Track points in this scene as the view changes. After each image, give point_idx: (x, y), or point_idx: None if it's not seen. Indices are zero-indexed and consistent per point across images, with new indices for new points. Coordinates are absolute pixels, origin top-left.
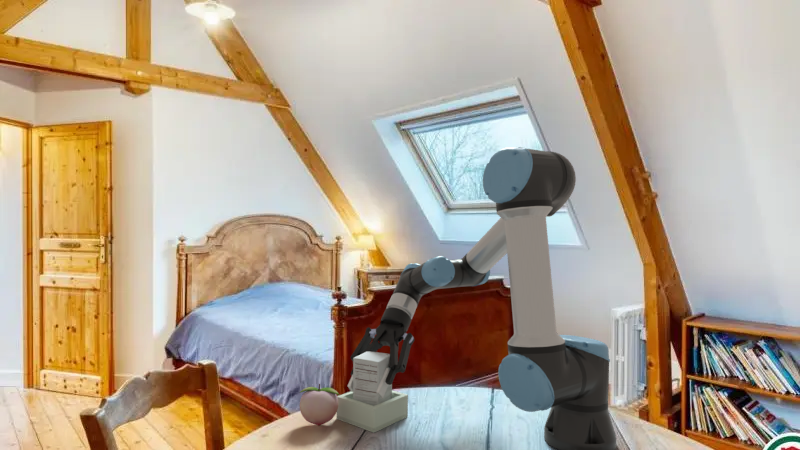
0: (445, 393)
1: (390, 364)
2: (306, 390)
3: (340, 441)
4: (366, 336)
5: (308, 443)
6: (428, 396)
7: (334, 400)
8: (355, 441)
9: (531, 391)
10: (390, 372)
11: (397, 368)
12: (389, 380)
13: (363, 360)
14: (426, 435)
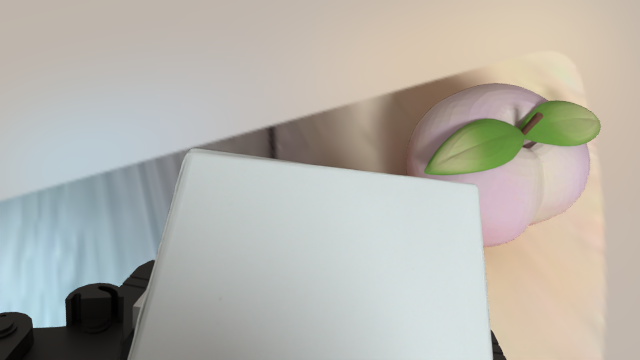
0: None
1: (112, 341)
2: (565, 101)
3: (323, 123)
4: None
5: (405, 88)
6: None
7: (421, 145)
8: (278, 136)
9: None
10: (129, 308)
11: (44, 330)
12: (144, 266)
13: (356, 172)
14: (27, 258)
